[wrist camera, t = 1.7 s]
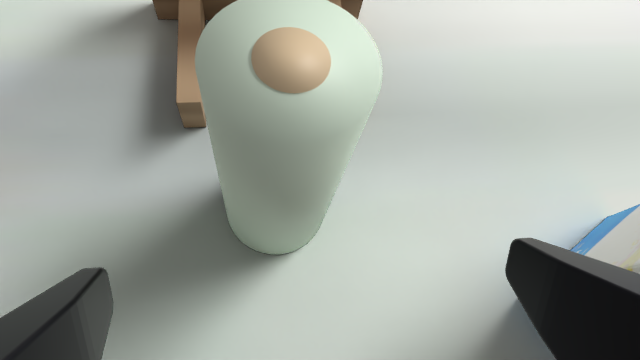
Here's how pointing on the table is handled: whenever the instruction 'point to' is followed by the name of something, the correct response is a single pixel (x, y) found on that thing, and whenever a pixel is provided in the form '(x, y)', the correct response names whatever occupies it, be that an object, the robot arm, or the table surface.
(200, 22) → the holder
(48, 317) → the robot arm
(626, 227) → the ink box
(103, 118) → the table surface
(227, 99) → the pale green tapered cylinder
